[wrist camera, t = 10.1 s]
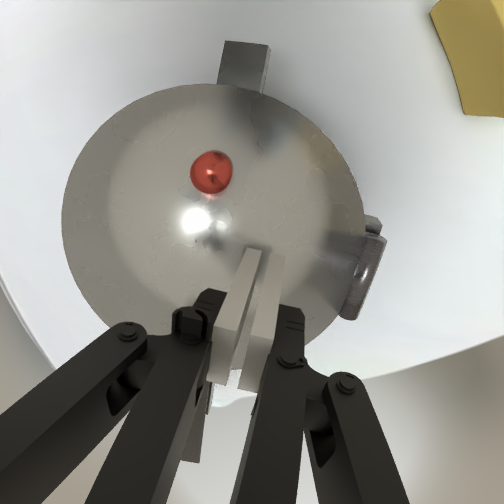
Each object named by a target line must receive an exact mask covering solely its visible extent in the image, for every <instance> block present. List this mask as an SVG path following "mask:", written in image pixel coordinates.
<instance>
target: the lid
mask: <svg viewBox="0 0 504 504" xmlns="http://www.w3.org/2000/svg"><path fill="white" fill-rule="evenodd" d="M62 237H63V245H64V250H65V254H66V258H67V261H68V265H69V268H70V270H71V273H72V275H73V277H74V280H75V282H76V284H77V286H78V288H79V289H80V291H81V293H82V295H83V297H84V298H85V299H86V301H87V302H88V304H89V305H90V306H91V308H92V309H93V310H94V312H95V313H96V314H97V315H98V316H99V317H100V318H101V319H102V321H103V322H104V323H105V324H106V325H107V326H109V327H110V328H111V327H112V326H114V325H116V324H118V323H120V322H126V321H127V322H135V323H138V324H140V325H142V326H143V327H144V328H145V330H146V331H147V335H168V334H171V327H172V313H173V312H174V311H175V310H176V309H178V308H181V307H186V306H192V307H193V305H194V303H195V301H196V299H197V298H198V296H199V294H200V293H201V292H202V291H204V290H206V289H207V288H211V289H215V290H219V291H223V292H228V291H229V288H230V286H231V284H232V281H233V279H234V277H235V274H236V272H237V270H238V267H239V265H240V263H241V260H242V258H243V256H244V254H245V251H246V249H247V247H248V248H252V249H256V250H261V251H262V253H261V258H260V262H259V267H258V272H257V277H256V281H255V286H254V291H253V295H252V299H251V302H250V306H249V309H248V313H247V316H246V320H245V323H244V327H243V330H242V333H241V337H240V340H239V344H238V347H237V350H236V354H235V357H234V360H233V364H232V367H231V370H236V369H242V368H243V363H244V359H245V355H246V351H247V346H248V342H249V338H250V334H251V330H252V326H253V322H254V318H255V314H256V310H257V306H258V302H259V298H260V294H261V290H262V286H263V282H264V278H265V274H266V269H267V265H268V261H269V257H270V253H274V254H278V255H283V256H285V263H284V271H283V279H282V286H281V293H280V300H279V304H283V305H287V306H292V307H296V308H300V309H301V310H302V312H303V314H304V316H305V331H304V332H305V343H304V346H305V345H306V344H308V343H309V342H310V341H312V340H313V339H315V338H316V337H317V336H318V335H319V334H321V333H322V332H323V331H324V330H325V329H326V328H327V327H328V326H329V325H330V324H331V323H332V322H333V320H334V319H335V318H336V317H337V315H339V316H340V317H342V318H344V319H346V320H356V319H357V318H358V316H359V313H360V311H361V309H362V306H363V304H364V301H365V299H366V296H367V294H368V291H369V289H370V286H371V284H372V281H373V279H374V276H375V274H376V271H377V268H378V266H379V263H380V260H381V257H382V255H383V252H384V249H385V246H386V243H387V240H386V239H385V238H383V237H382V236H380V235H377V234H375V233H371V232H366V230H365V217H364V211H363V205H362V200H361V197H360V194H359V191H358V188H357V185H356V182H355V180H354V178H353V176H352V174H351V172H350V170H349V168H348V166H347V164H346V162H345V160H344V159H343V157H342V156H341V154H340V153H339V152H338V150H337V149H336V147H335V146H334V144H333V143H332V142H331V141H330V140H329V139H328V138H327V137H326V136H325V135H324V134H323V133H322V131H321V130H320V129H319V128H318V127H317V126H316V125H314V124H313V123H312V122H310V121H309V120H308V119H307V118H305V117H304V116H303V115H301V114H300V113H299V112H298V111H296V110H294V109H292V108H291V107H289V106H287V105H285V104H284V103H282V102H280V101H278V100H276V99H274V98H271V97H269V96H266V95H264V94H261V93H258V92H256V91H253V90H249V89H244V88H239V87H235V86H230V85H218V84H195V85H185V86H178V87H174V88H170V89H166V90H162V91H158V92H155V93H153V94H150V95H148V96H146V97H143V98H141V99H139V100H136V101H135V102H133V103H131V104H130V105H128V106H126V107H125V108H123V109H122V110H120V111H118V112H117V113H116V114H114V115H113V116H112V117H111V118H110V119H109V120H107V121H106V122H105V123H104V124H103V125H102V126H101V127H100V128H99V129H98V130H97V131H96V132H95V134H94V135H93V136H92V137H91V138H90V139H89V141H88V142H87V143H86V145H85V146H84V148H83V150H82V151H81V153H80V154H79V156H78V158H77V159H76V162H75V164H74V166H73V168H72V171H71V173H70V175H69V178H68V182H67V185H66V189H65V193H64V198H63V205H62ZM206 378H207V376H206ZM209 383H210V381H206V379H205V381H204V387H203V393H202V396H201V399H200V402H199V405H198V408H197V411H196V414H195V417H194V420H193V423H192V426H191V429H190V432H189V435H188V438H187V441H186V444H185V447H184V450H183V453H182V456H181V459H180V460H182V461H188V462H194V463H199V462H200V454H201V445H202V437H203V429H204V421H205V413H206V406H207V398H208V390H209Z"/></svg>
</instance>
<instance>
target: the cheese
mask: <svg viewBox="0 0 504 504" xmlns="http://www.w3.org/2000/svg"><path fill="white" fill-rule="evenodd" d="M430 15H431V17H432V20H433V22H434V25H435V27H436V30H437V32H438V35H439V37H440V39H441V42H442V44H443V47H444V49H445V52H446V54H447V57H448V59H449V62H450V65H451V67H452V70H453V73H454V77H455V80H456V83H457V87H458V91H459V94H460V99H461V103H462V107H463V111H464V114H466V115H473V116H495V117H502V118H504V0H440V1H439V2H438V3H437V4H436V5H435V6H434V7H433V9H432V11H431V12H430Z"/></svg>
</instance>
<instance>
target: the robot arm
mask: <svg viewBox="0 0 504 504" xmlns="http://www.w3.org/2000/svg"><path fill="white" fill-rule="evenodd" d="M261 253H262V251H261V250H256V249H252V248H248V247H247V249H246V251H245V254H244V256H243V258H242V260H241V263H240V265H239V267H238V270H237V272H236V274H235V277H234V279H233V281H232V284H231V286H230V288H229V291H228V292H223V291H219V290H215V289H211V288H207V289H206V290H204V291H202V292H201V293H200V294H199V296H198V298H197V299H196V301H195V303H194V305H193V307H192V306H186V307H181V308H178V309H176V310H175V311H174V312H173V313H172V327H171V334H168V335H147V331H146V330H145V328H144V327H143V326H142V325H140V324H138V323H135V322H127V321H126V322H120V323H118V324H116V325H114V326H112V327H111V328H110V329H108V330H107V331H106V332H105V333H103V334H102V335H101V336H99V337H98V338H97V339H95V340H94V341H93V342H92V343H90V344H89V345H88V346H86V347H85V348H84V349H83V350H81V351H80V352H79V353H77V354H76V355H75V356H74V357H72V358H71V359H70V360H68V361H67V362H66V363H65V364H63V365H62V366H61V367H60V368H58V369H57V370H56V371H54V372H53V373H52V374H51V375H49V376H48V377H47V378H46V379H44V380H43V381H42V382H41V383H39V384H38V385H37V386H36V387H34V388H33V389H32V390H31V391H29V392H28V393H27V394H26V395H24V396H23V397H22V398H21V399H19V400H18V401H17V402H16V403H15V404H13V405H12V406H11V407H10V408H9V409H7V410H6V411H5V412H4V413H2V414H1V415H0V504H41V503H42V502H43V501H44V500H45V499H46V498H47V497H48V496H49V495H50V494H51V493H52V492H53V491H54V490H55V489H56V488H57V487H58V486H59V484H61V482H62V481H63V480H64V479H65V478H66V477H67V476H68V475H69V474H70V473H71V472H72V471H73V470H74V469H75V468H76V467H77V466H78V465H79V464H80V463H81V462H82V461H83V460H84V458H85V457H86V456H87V455H88V454H89V453H90V452H91V451H92V450H93V449H94V448H95V447H96V446H97V445H98V444H99V443H100V441H102V440H103V438H104V437H105V436H106V435H107V434H108V433H109V432H110V431H111V430H112V429H113V428H114V427H115V426H116V424H118V422H119V421H120V420H121V419H122V418H123V417H124V416H125V415H126V414H127V413H128V412H129V411H130V412H129V414H128V416H127V418H126V419H125V421H124V424H123V425H122V427H121V429H120V431H119V433H118V435H117V437H116V439H115V441H114V443H113V445H112V447H111V449H110V451H109V454H108V456H107V458H106V460H105V462H104V464H103V466H102V468H101V470H100V472H99V474H98V476H97V478H96V480H95V482H94V484H93V487H92V489H91V491H90V493H89V495H88V497H87V499H86V501H85V504H166V502H167V499H168V496H169V493H170V489H171V487H172V483H173V480H174V477H175V474H176V471H177V468H178V465H179V462H180V459H181V456H182V453H183V450H184V447H185V444H186V441H187V438H188V435H189V432H190V429H191V426H192V423H193V420H194V417H195V414H196V411H197V408H198V405H199V402H200V399H201V396H202V393H203V387H204V381H205V379H206V381H210V382H213V383H217V384H221V385H225V386H226V384H227V381H228V377H229V374H230V371H231V367H232V364H233V360H234V357H235V354H236V350H237V347H238V344H239V340H240V337H241V333H242V330H243V327H244V323H245V320H246V316H247V313H248V309H249V306H250V302H251V299H252V295H253V291H254V286H255V281H256V277H257V272H258V267H259V262H260V258H261ZM284 263H285V256H283V255H278V254H274V253H270V257H269V261H268V265H267V269H266V274H265V278H264V282H263V286H262V290H261V294H260V298H259V302H258V306H257V310H256V314H255V318H254V322H253V326H252V330H251V334H250V338H249V342H248V346H247V351H246V355H245V359H244V363H243V368H242V372H241V376H240V380H239V384H238V389H241V390H246V391H250V392H255V393H258V394H257V398H256V401H255V404H254V407H253V410H252V413H251V415H252V417H251V421H250V425H249V430H248V434H247V437H246V442H245V446H244V450H243V454H242V458H241V462H240V466H239V470H238V474H237V477H236V482H235V485H234V489H233V493H232V496H231V500H230V504H296V497H297V489H298V480H299V471H300V462H301V451H302V441H303V431H304V433H305V438H306V443H307V447H308V452H309V457H310V462H311V467H312V472H313V477H314V481H315V487H316V492H317V496H318V502H319V504H410V503H409V500H408V498H407V495H406V492H405V489H404V486H403V483H402V481H401V478H400V475H399V472H398V470H397V467H396V464H395V462H394V459H393V457H392V454H391V451H390V449H389V446H388V443H387V441H386V438H385V436H384V433H383V431H382V428H381V426H380V423H379V420H378V418H377V416H376V413H375V411H374V408H373V406H372V403H371V401H370V398H369V396H368V393H367V391H366V389H365V386H364V384H363V383H362V382H361V380H360V379H359V378H358V377H356V376H355V375H353V374H350V373H348V372H336V373H334V374H332V375H330V377H327V376H325V375H322V374H320V373H318V372H316V371H314V370H313V369H312V368H311V367H310V366H309V365H308V363H307V359H306V358H305V357H304V343H305V332H304V331H305V316H304V314H303V312H302V310H301V309H300V308H296V307H292V306H287V305H283V304H279V300H280V293H281V286H282V279H283V271H284ZM206 376H207V378H206Z"/></svg>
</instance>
